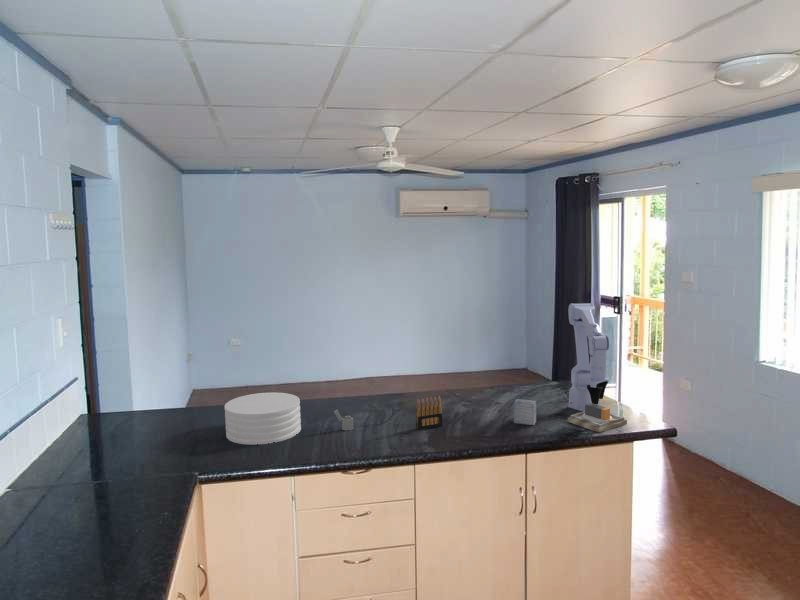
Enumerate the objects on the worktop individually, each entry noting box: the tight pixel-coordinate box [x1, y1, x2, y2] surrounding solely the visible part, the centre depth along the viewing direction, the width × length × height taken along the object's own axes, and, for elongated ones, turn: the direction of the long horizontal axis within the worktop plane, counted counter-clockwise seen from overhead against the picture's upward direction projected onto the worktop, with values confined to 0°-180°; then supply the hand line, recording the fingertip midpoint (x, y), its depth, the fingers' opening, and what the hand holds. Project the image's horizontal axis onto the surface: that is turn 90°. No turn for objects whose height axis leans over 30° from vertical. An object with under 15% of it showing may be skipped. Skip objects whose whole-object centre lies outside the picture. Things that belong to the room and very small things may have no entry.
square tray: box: [567, 411, 628, 433], centre depth 225 cm, size 15×16×3 cm
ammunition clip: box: [415, 395, 444, 431], centre depth 224 cm, size 11×2×12 cm, turn 112°
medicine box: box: [513, 398, 537, 426], centre depth 227 cm, size 8×4×9 cm, turn 65°
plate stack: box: [224, 392, 302, 446], centre depth 223 cm, size 28×28×12 cm
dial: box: [582, 403, 612, 424], centre depth 225 cm, size 11×11×5 cm
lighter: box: [333, 409, 354, 431], centre depth 223 cm, size 7×2×8 cm, turn 100°
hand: (597, 401), depth 224 cm, fingers open, 7 cm apart
